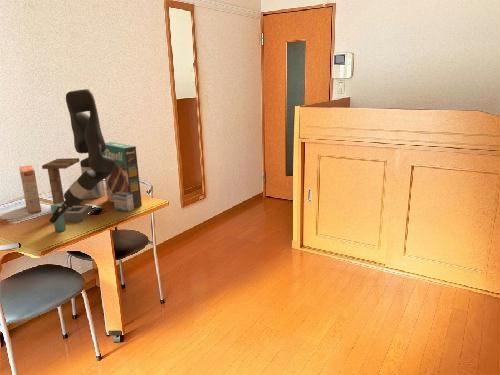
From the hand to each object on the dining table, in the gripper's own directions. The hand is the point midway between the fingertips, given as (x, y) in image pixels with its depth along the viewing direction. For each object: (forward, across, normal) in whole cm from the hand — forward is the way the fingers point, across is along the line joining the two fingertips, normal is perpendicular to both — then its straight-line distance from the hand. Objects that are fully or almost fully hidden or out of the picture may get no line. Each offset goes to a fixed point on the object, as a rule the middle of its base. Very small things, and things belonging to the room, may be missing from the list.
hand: (54, 219), depth 165 cm
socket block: (+2, -15, +5) cm, 16 cm away
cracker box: (+21, -29, -14) cm, 38 cm away
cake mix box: (-9, -36, +16) cm, 41 cm away
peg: (+2, 0, +5) cm, 5 cm away
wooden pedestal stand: (+4, -15, +3) cm, 16 cm away
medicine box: (-12, -25, +19) cm, 33 cm away
